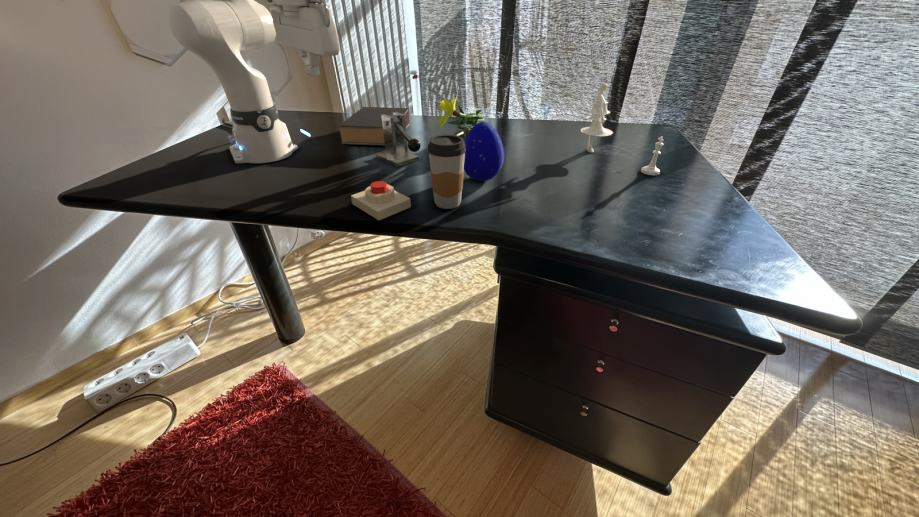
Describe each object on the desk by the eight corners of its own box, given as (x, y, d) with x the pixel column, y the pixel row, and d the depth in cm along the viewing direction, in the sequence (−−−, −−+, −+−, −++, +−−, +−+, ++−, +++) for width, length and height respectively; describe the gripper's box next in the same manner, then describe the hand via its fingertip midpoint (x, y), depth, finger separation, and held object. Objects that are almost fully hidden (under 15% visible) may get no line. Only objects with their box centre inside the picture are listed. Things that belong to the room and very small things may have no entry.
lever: (421, 153, 102) (424, 143, 99) (411, 156, 100) (414, 146, 97) (394, 122, 105) (397, 111, 102) (384, 124, 103) (386, 114, 100)
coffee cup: (464, 195, 89) (465, 133, 80) (466, 211, 82) (467, 146, 73) (430, 195, 89) (427, 134, 80) (429, 211, 82) (426, 146, 73)
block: (352, 203, 85) (349, 188, 82) (383, 192, 90) (381, 177, 88) (378, 220, 78) (376, 204, 76) (411, 207, 84) (409, 191, 81)
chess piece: (648, 176, 99) (660, 139, 93) (636, 169, 103) (647, 134, 97) (663, 174, 100) (676, 138, 94) (651, 167, 104) (663, 132, 98)
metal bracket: (419, 160, 108) (416, 115, 100) (397, 167, 103) (393, 121, 96) (397, 151, 114) (392, 108, 107) (376, 157, 110) (370, 113, 102)
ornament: (506, 176, 98) (510, 120, 89) (493, 189, 91) (497, 129, 83) (469, 169, 102) (470, 114, 93) (454, 181, 95) (454, 123, 87)
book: (410, 126, 136) (408, 108, 133) (393, 148, 116) (391, 127, 112) (365, 124, 138) (363, 106, 134) (342, 146, 118) (338, 125, 114)
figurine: (612, 159, 109) (630, 87, 97) (579, 157, 110) (594, 86, 98) (603, 145, 120) (619, 79, 108) (574, 143, 121) (586, 78, 109)
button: (368, 191, 82) (367, 184, 81) (381, 186, 84) (380, 179, 83) (377, 196, 80) (376, 189, 79) (390, 191, 82) (389, 184, 81)
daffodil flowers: (508, 135, 131) (489, 137, 99) (473, 154, 136) (444, 161, 105) (488, 91, 128) (462, 78, 96) (453, 112, 133) (418, 106, 102)
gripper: (341, -3, 64) (352, 81, 72) (290, -8, 75) (305, 66, 84) (307, -4, 60) (323, 85, 69) (259, -9, 72) (278, 69, 80)
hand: (313, 74), depth 76 cm, fingers closed
